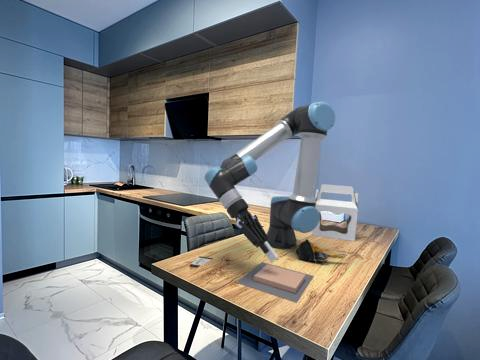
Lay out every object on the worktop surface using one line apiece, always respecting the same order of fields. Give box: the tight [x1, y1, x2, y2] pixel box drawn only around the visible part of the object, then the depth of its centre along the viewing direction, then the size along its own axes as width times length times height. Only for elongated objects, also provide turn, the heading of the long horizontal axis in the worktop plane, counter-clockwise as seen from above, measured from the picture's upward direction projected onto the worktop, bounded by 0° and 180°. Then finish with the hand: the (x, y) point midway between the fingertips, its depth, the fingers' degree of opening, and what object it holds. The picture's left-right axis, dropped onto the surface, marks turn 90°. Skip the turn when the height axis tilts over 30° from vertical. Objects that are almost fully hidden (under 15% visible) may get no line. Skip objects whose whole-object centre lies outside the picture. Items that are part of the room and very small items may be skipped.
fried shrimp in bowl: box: [295, 239, 346, 264], centre depth 105 cm, size 9×11×18 cm
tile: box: [254, 263, 306, 293], centre depth 85 cm, size 11×2×14 cm
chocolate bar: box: [189, 255, 214, 269], centre depth 96 cm, size 9×1×18 cm
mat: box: [235, 261, 315, 304], centre depth 86 cm, size 20×20×1 cm
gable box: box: [311, 183, 359, 242], centre depth 141 cm, size 22×13×28 cm, turn 70°
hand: (274, 259), depth 86 cm, fingers closed
